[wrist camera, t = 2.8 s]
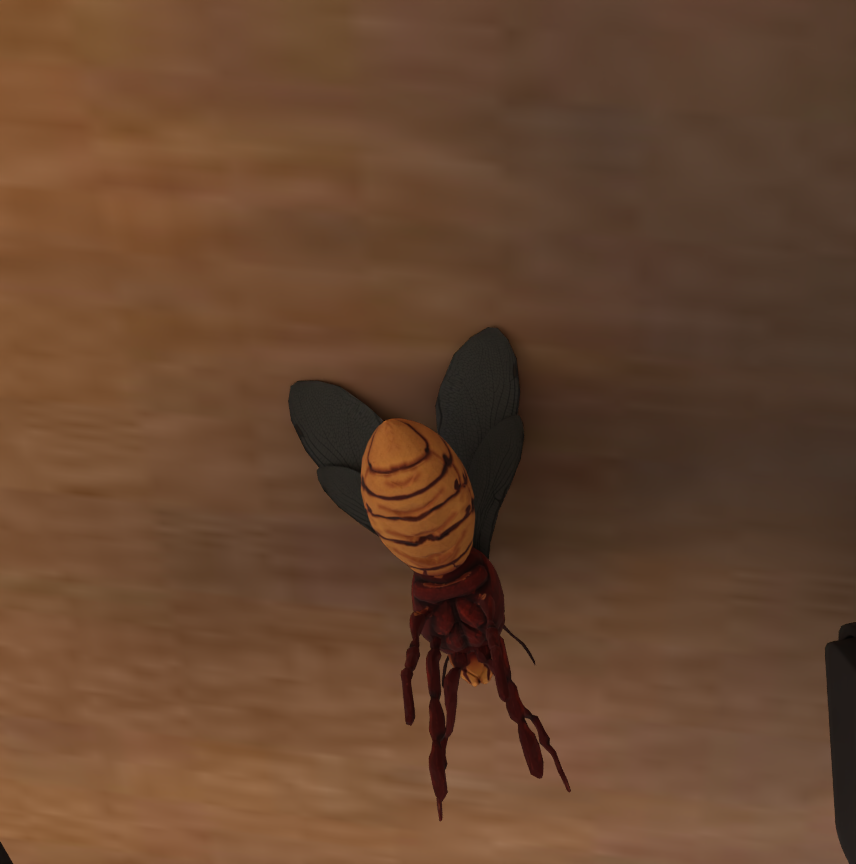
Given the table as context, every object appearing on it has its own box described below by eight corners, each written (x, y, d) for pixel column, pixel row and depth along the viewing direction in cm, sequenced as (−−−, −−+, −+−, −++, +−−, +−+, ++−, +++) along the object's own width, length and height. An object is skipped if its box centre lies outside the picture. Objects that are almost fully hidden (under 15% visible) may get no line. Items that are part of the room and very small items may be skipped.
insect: (655, 846, 11) (582, 618, 15) (557, 452, 8) (506, 320, 13) (379, 906, 11) (388, 665, 16) (212, 544, 9) (279, 384, 13)
